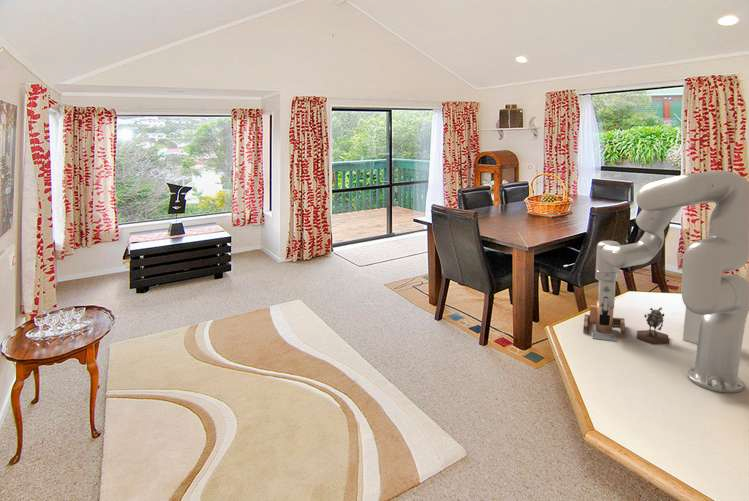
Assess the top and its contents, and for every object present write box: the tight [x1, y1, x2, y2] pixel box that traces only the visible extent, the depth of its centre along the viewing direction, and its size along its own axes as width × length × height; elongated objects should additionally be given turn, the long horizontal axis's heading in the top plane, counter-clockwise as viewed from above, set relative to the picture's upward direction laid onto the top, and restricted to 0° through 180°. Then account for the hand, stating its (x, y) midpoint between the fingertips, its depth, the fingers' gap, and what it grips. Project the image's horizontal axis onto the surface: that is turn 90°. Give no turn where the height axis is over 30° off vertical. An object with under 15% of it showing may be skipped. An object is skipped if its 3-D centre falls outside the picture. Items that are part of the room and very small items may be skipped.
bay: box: [582, 314, 627, 339], centre depth 159 cm, size 12×13×3 cm
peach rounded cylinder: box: [589, 299, 615, 334], centre depth 158 cm, size 6×8×11 cm
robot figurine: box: [636, 306, 670, 345], centre depth 149 cm, size 11×9×12 cm
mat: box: [592, 332, 616, 342], centre depth 153 cm, size 5×7×1 cm
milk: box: [682, 306, 702, 345], centre depth 144 cm, size 6×6×22 cm
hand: (604, 321), depth 158 cm, fingers closed on peach rounded cylinder, 5 cm apart
